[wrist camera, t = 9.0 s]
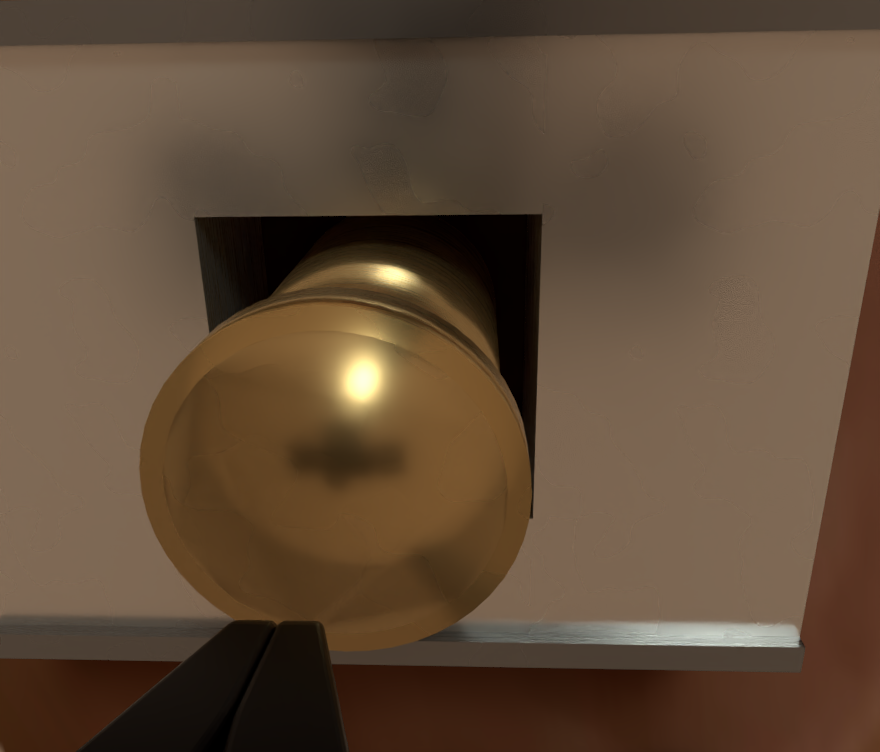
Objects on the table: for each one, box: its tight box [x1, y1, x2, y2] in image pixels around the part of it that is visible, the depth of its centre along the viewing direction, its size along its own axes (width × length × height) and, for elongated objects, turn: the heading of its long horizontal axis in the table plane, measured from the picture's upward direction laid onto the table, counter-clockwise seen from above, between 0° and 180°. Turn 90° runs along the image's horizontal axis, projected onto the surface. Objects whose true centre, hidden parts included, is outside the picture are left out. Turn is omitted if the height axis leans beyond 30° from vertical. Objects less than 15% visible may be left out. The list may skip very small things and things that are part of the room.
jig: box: [0, 0, 880, 672], centre depth 16 cm, size 16×12×4 cm
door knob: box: [139, 215, 532, 651], centre depth 14 cm, size 5×5×8 cm
